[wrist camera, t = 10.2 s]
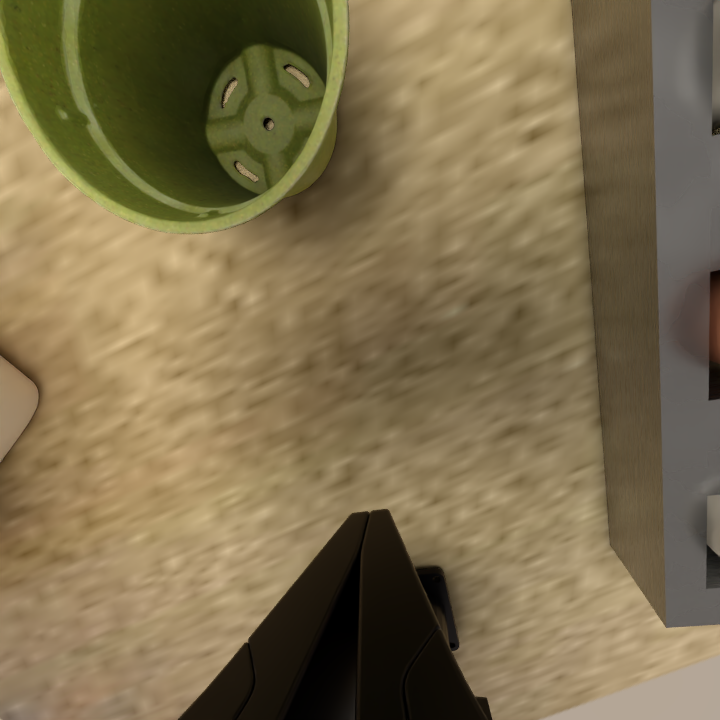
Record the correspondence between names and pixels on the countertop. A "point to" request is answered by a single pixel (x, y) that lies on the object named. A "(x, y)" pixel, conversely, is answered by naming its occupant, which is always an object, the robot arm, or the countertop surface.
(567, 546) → the countertop surface
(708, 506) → the ivory plug far
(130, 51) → the plant pot
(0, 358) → the white plastic jug
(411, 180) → the countertop surface
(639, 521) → the socket block
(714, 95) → the ivory plug near
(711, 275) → the rust plug
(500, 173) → the countertop surface
